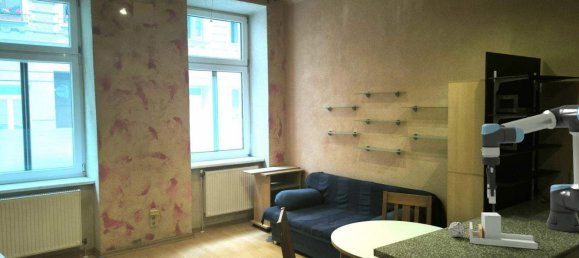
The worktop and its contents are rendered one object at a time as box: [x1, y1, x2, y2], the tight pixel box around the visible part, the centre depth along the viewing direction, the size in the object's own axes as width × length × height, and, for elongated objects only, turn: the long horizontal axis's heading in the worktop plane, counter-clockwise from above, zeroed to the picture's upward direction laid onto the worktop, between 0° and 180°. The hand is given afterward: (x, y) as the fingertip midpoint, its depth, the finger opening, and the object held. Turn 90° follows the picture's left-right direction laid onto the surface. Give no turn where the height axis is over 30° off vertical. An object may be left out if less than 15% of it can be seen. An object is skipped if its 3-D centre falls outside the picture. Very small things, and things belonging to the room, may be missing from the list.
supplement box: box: [480, 212, 502, 240], centre depth 203 cm, size 7×7×13 cm
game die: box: [446, 220, 468, 239], centre depth 210 cm, size 9×8×10 cm
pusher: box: [478, 223, 482, 238], centre depth 205 cm, size 1×10×6 cm, turn 158°
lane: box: [469, 221, 539, 250], centre depth 201 cm, size 28×13×7 cm, turn 68°
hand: (491, 200), depth 202 cm, fingers open, 13 cm apart
